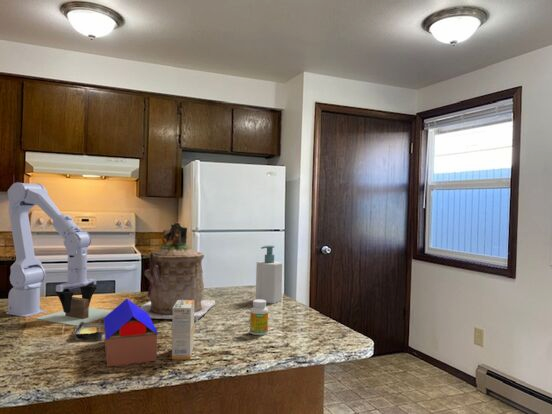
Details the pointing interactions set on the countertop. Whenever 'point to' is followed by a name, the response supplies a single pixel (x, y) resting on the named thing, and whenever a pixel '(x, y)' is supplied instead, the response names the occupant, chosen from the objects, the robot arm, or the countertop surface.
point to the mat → (61, 318)
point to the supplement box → (183, 329)
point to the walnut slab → (79, 308)
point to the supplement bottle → (259, 318)
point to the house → (129, 335)
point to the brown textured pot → (175, 276)
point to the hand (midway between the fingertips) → (76, 309)
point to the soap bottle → (269, 278)
